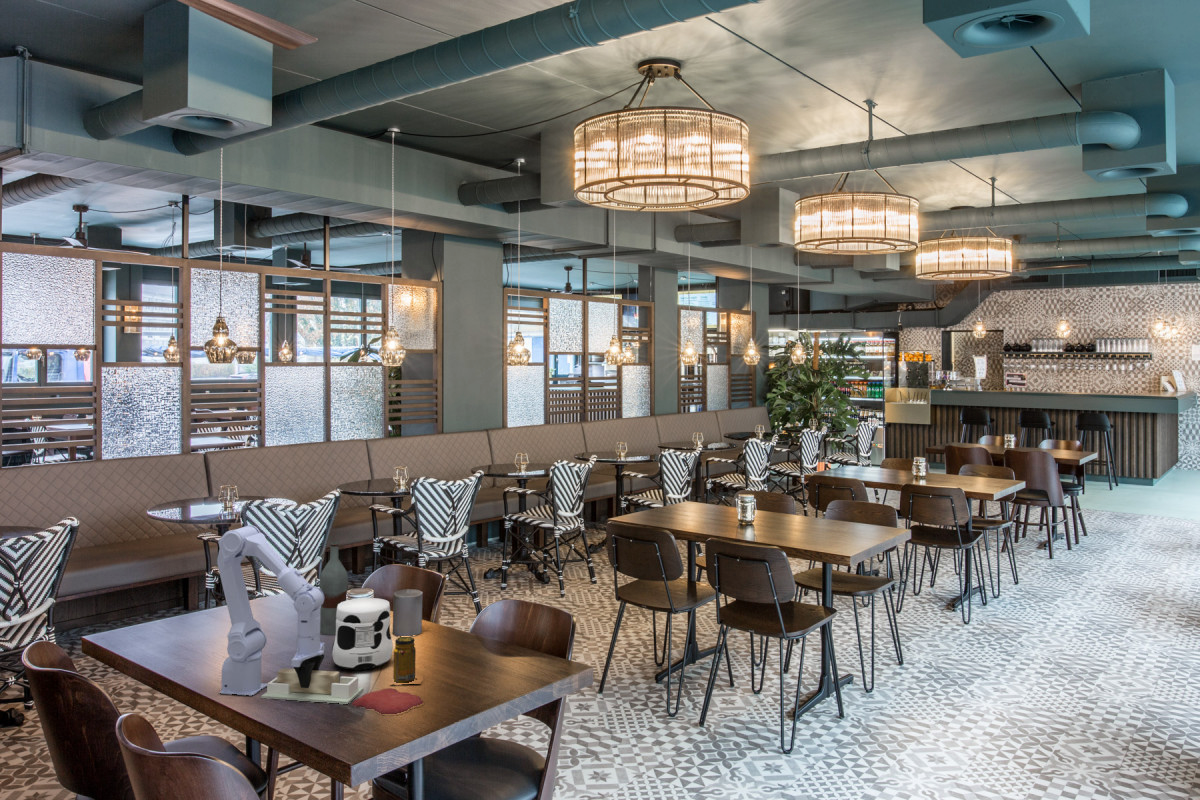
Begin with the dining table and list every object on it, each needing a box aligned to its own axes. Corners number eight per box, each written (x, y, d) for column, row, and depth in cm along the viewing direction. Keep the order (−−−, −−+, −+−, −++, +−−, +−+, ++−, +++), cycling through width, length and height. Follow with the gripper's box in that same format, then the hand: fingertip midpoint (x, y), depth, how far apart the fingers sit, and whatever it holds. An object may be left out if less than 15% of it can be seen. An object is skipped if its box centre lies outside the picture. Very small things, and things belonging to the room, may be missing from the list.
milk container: (364, 651, 250) (365, 594, 250) (404, 661, 241) (405, 602, 241) (319, 667, 236) (320, 606, 235) (360, 678, 227) (361, 615, 226)
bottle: (312, 633, 267) (314, 544, 267) (329, 626, 276) (330, 539, 276) (336, 636, 264) (338, 546, 264) (353, 629, 273) (354, 541, 273)
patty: (345, 706, 208) (345, 698, 208) (384, 689, 220) (384, 682, 220) (394, 721, 199) (394, 713, 199) (432, 703, 211) (432, 695, 211)
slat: (277, 690, 214) (277, 672, 214) (282, 686, 217) (283, 668, 217) (334, 694, 212) (334, 675, 212) (339, 690, 215) (339, 671, 215)
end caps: (267, 693, 213) (267, 679, 212) (278, 685, 218) (278, 672, 218) (348, 698, 210) (348, 685, 210) (358, 690, 216) (358, 677, 216)
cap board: (260, 698, 210) (261, 695, 210) (280, 685, 220) (280, 682, 220) (347, 704, 208) (347, 701, 208) (363, 690, 218) (363, 687, 218)
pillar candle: (390, 630, 272) (390, 586, 272) (418, 627, 277) (419, 584, 276) (395, 639, 264) (396, 594, 263) (425, 635, 268) (425, 591, 267)
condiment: (394, 676, 229) (394, 635, 229) (424, 676, 229) (424, 634, 229) (389, 686, 221) (390, 643, 221) (420, 685, 222) (421, 642, 222)
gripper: (310, 643, 206) (309, 695, 207) (335, 627, 221) (334, 676, 221) (284, 642, 207) (283, 694, 207) (310, 626, 222) (310, 674, 222)
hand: (308, 685), depth 214 cm, fingers closed on slat, 3 cm apart
